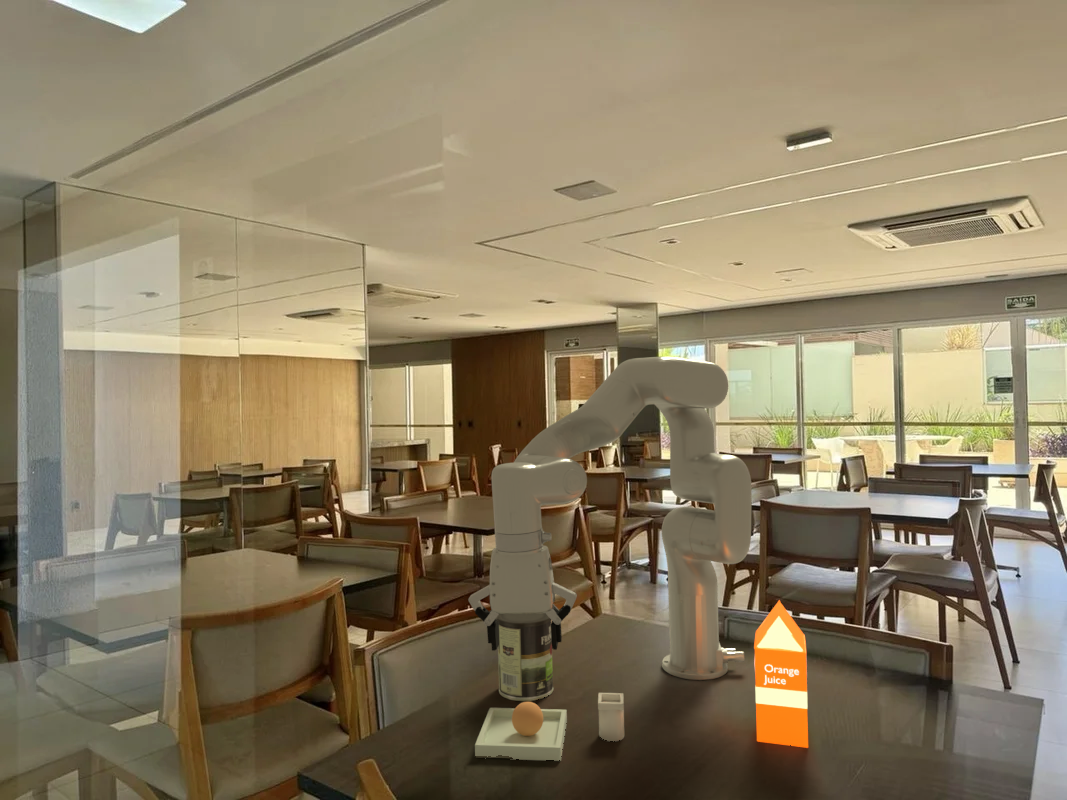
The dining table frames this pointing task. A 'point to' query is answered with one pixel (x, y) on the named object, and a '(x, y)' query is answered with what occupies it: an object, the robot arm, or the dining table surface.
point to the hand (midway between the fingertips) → (525, 646)
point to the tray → (522, 736)
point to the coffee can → (525, 656)
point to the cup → (611, 716)
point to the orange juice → (781, 680)
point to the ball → (527, 718)
